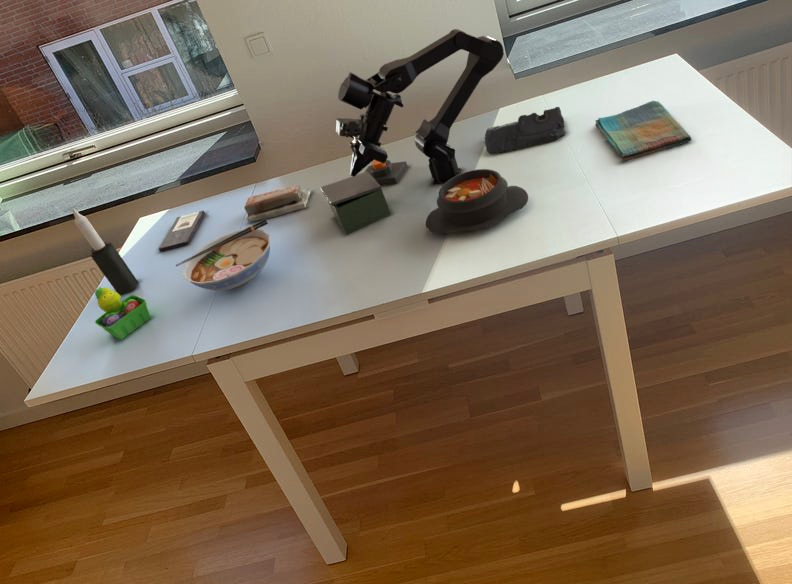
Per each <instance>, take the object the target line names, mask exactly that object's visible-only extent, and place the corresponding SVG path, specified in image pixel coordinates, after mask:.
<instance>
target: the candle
mask: <svg viewBox="0 0 792 584" xmlns="http://www.w3.org/2000/svg"><path fill="white" fill-rule="evenodd" d="M71 211H72V213H73V216H74V224H75V225H76V226H77V228H78V229H79V231H80V232H81V233H82V236H84V238H85V239H86V240H87V242H88V243H89V245H90V247H91V249H92V250H90V252H91V253H90V257H91V259H92V260H93V262H94V263H95V265H96V266H97V267H98V269H99V270H100V272H101V273H102V274H103V275H104V277H105V278H106V280H107V281H108V283H109V284H110V285H111V286H112V288H113V289H114V292H117V293H118V294H119V295H120V296H123V295H125V294H128V293H129V294H130V293H132V292H134V291H135V290H136V287H137V286H138V283H139V281H138V279H137V278H136V277H135V275H134V273H133V272H132V271H131V269H130V267H129V266H128V264H127V263H126V262H125V260H124V258H123V257H122V256H121V254H120V253H119V251H118V250H117V249H116V247H115V246H114V245H113V243H112V242H108V241H104V240H102V238H101V236H100V235H99V234H98V232H97V231H96V229H95V228H94V227H93V225H92V224H91V222H90V221H89V220H88V217H86V216H84V215H82V214H81V213H79V212H78V211H77V210H76V208H75V207H72V208H71Z"/></svg>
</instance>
